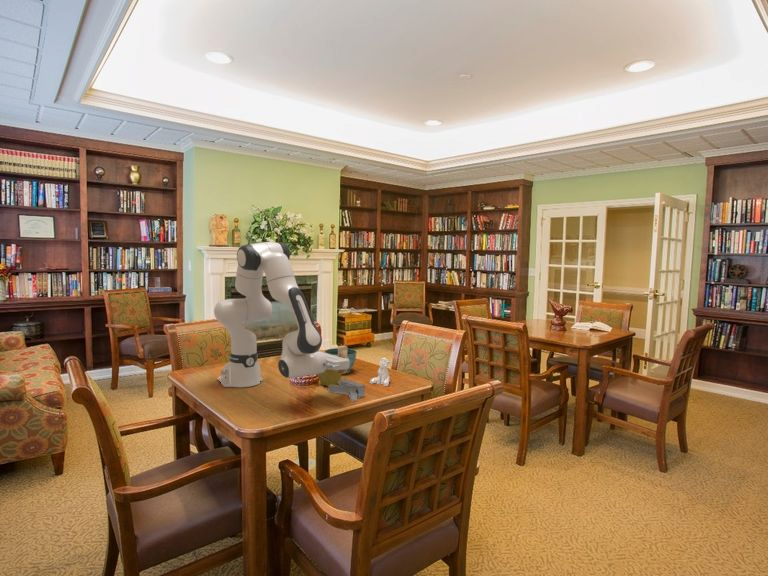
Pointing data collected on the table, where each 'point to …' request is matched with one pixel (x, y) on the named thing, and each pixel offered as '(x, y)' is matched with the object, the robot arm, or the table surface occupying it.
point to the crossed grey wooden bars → (348, 389)
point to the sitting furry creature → (382, 373)
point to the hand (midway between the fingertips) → (344, 358)
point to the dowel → (342, 353)
